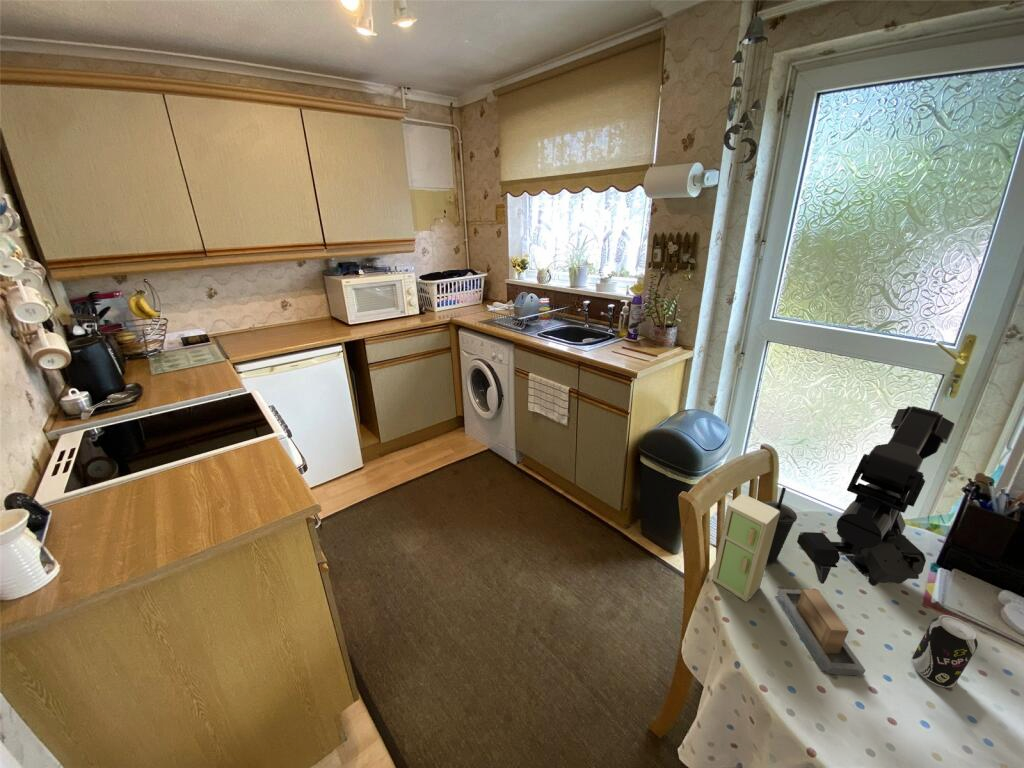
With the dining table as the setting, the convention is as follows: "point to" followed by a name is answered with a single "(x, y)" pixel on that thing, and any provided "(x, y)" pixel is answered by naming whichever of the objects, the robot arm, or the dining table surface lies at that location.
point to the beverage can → (945, 650)
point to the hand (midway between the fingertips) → (845, 583)
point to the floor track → (825, 661)
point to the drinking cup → (780, 526)
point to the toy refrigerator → (745, 545)
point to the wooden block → (822, 621)
